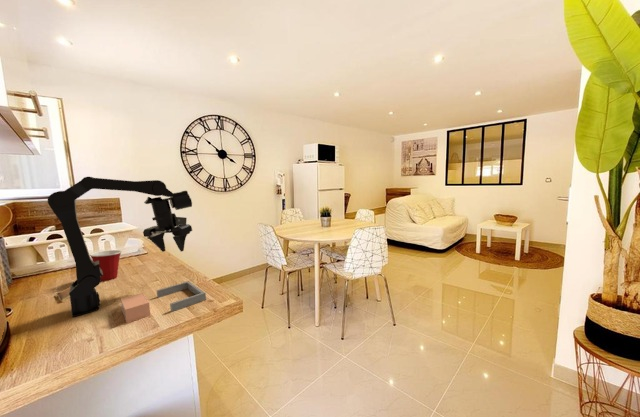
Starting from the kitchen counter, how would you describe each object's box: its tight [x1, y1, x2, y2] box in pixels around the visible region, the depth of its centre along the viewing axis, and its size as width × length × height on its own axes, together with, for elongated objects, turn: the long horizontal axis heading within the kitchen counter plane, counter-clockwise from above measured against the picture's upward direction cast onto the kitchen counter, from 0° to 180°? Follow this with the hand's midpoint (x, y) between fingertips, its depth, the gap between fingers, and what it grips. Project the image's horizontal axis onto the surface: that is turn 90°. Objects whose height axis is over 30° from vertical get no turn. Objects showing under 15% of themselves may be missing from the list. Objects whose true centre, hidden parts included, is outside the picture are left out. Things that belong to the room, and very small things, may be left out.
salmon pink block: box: [120, 292, 151, 324], centre depth 82 cm, size 6×10×4 cm, turn 44°
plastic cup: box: [89, 249, 123, 282], centre depth 111 cm, size 11×11×12 cm
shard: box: [56, 287, 70, 303], centre depth 95 cm, size 11×8×2 cm
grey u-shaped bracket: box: [156, 280, 207, 313], centre depth 92 cm, size 11×16×2 cm
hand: (173, 251), depth 100 cm, fingers open, 9 cm apart
